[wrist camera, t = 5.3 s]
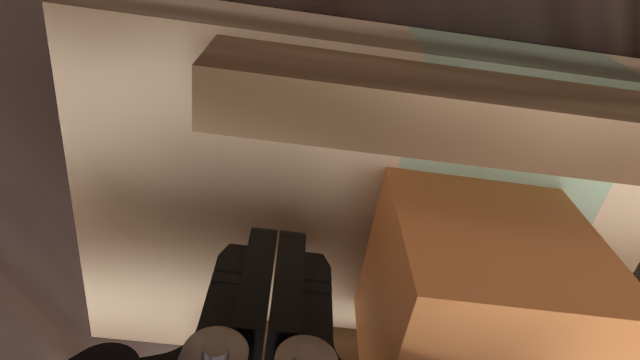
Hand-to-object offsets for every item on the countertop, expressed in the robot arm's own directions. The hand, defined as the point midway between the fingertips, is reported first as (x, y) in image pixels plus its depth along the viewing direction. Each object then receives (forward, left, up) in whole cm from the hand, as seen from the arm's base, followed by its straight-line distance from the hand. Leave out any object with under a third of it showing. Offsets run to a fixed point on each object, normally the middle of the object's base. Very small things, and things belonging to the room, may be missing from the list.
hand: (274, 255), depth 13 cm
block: (0, +5, -1) cm, 5 cm away
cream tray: (0, +6, -4) cm, 7 cm away
